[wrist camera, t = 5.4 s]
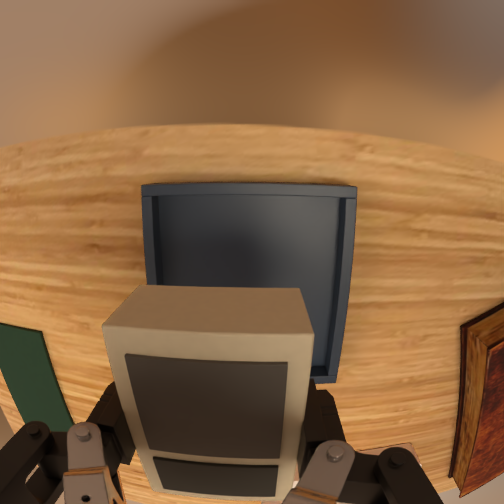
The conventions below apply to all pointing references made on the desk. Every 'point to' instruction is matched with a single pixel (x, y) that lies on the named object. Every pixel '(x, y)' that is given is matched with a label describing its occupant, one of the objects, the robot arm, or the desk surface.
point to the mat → (32, 378)
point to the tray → (258, 246)
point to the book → (480, 403)
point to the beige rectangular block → (213, 386)
